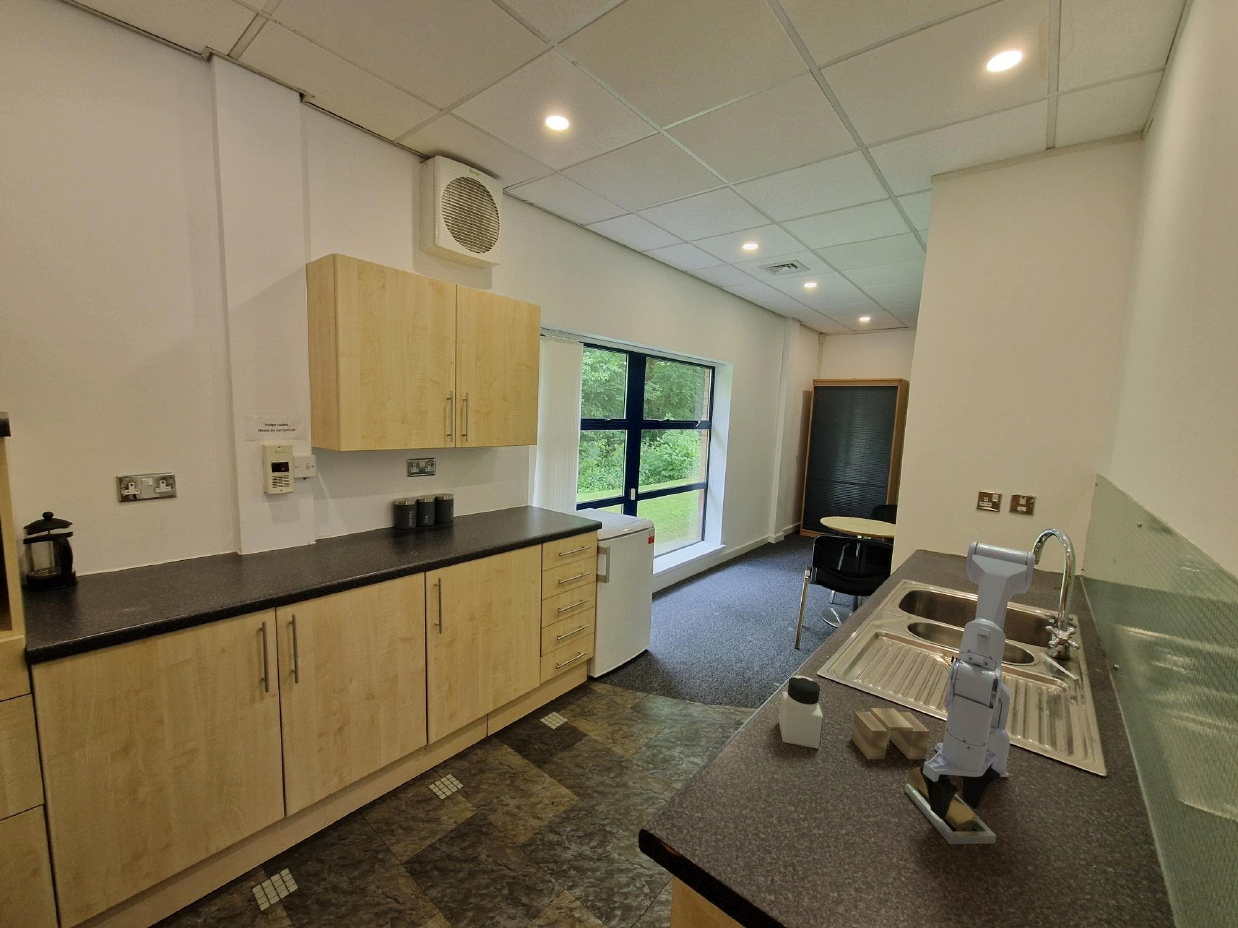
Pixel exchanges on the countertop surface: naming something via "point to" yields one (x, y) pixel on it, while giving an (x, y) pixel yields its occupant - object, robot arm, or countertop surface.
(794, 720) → the medicine bottle
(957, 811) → the axle
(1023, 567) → the robot arm
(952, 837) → the cradle
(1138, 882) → the countertop surface
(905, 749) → the wooden stepped block
